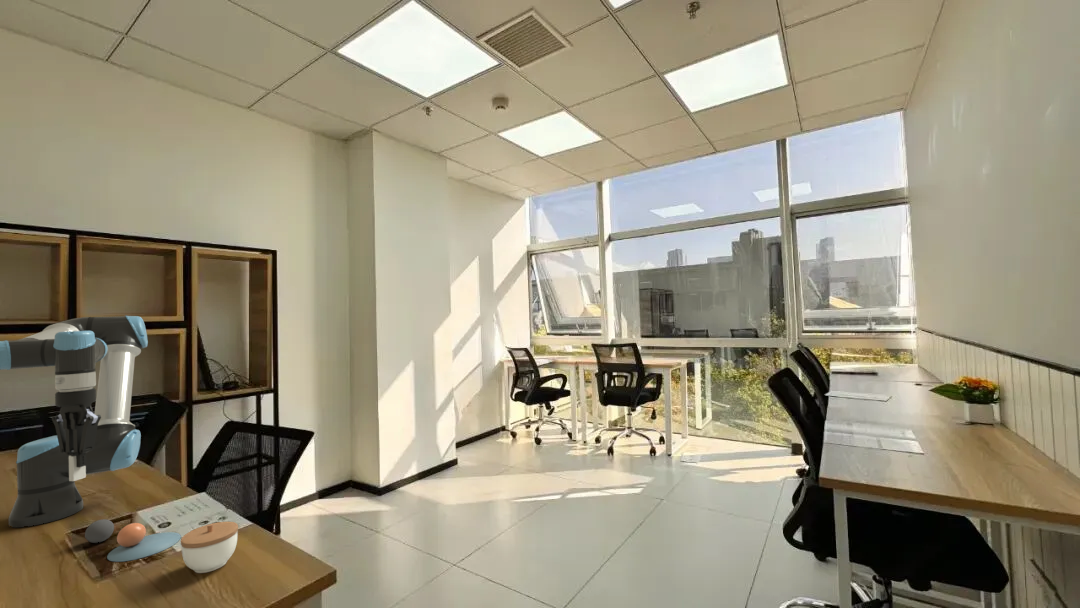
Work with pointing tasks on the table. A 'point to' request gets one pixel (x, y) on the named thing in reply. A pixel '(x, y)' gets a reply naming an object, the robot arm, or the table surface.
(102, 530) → the charcoal ball
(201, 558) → the lidded jar
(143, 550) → the slate mark
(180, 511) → the table surface
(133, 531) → the terracotta ball
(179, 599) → the table surface
